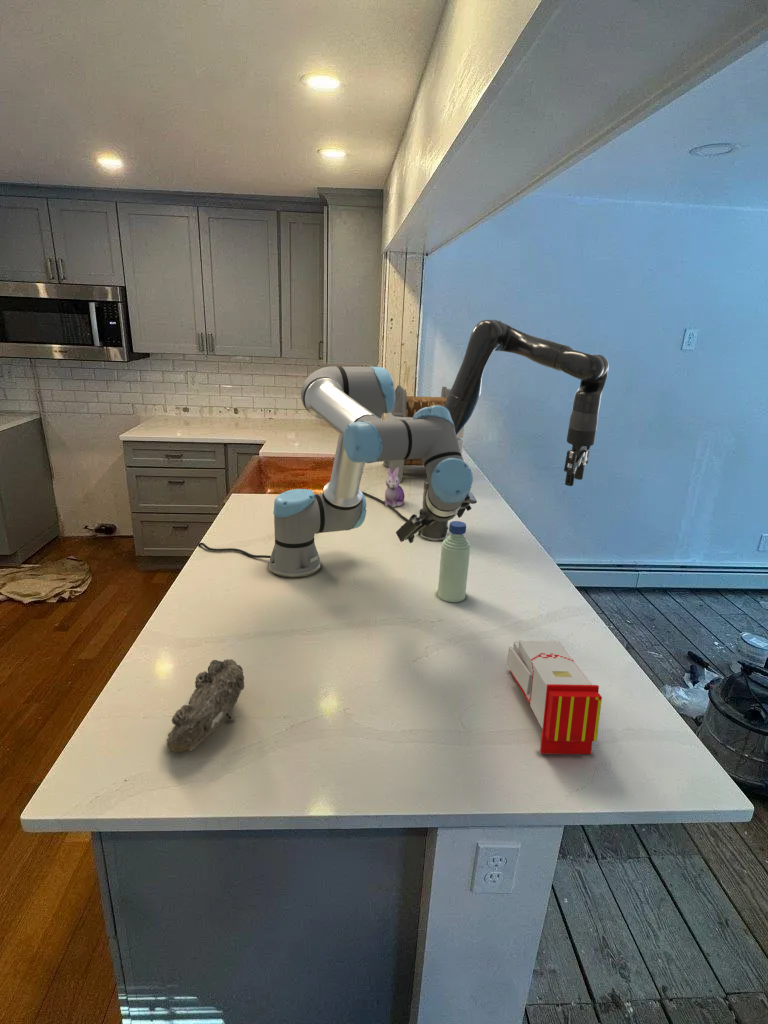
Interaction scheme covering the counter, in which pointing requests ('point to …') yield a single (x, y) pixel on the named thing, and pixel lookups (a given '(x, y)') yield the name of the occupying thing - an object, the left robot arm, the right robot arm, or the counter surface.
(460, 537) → the bottle
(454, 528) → the cap
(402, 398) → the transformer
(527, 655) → the toy
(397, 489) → the figurine
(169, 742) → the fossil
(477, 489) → the counter surface
